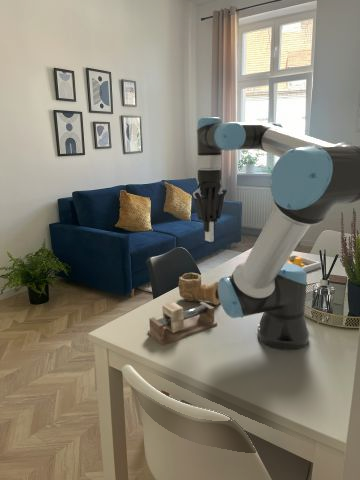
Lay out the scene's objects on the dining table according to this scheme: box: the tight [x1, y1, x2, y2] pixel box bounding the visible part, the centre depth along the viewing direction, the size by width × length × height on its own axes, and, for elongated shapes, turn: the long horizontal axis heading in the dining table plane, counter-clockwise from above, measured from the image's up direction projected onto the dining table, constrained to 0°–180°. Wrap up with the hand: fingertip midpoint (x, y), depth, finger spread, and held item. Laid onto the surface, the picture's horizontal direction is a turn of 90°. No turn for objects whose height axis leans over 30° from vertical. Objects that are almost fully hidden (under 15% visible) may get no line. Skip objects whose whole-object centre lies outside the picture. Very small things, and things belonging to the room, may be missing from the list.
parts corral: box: [288, 254, 322, 273], centre depth 173 cm, size 16×16×2 cm
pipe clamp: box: [286, 257, 305, 267], centre depth 172 cm, size 12×4×6 cm, turn 24°
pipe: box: [177, 272, 221, 306], centre depth 136 cm, size 9×16×10 cm, turn 69°
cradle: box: [147, 301, 218, 346], centre depth 117 cm, size 21×9×6 cm, turn 124°
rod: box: [157, 305, 207, 326], centre depth 116 cm, size 18×3×3 cm, turn 124°
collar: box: [161, 301, 184, 333], centre depth 114 cm, size 4×6×7 cm
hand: (209, 240), depth 121 cm, fingers closed
